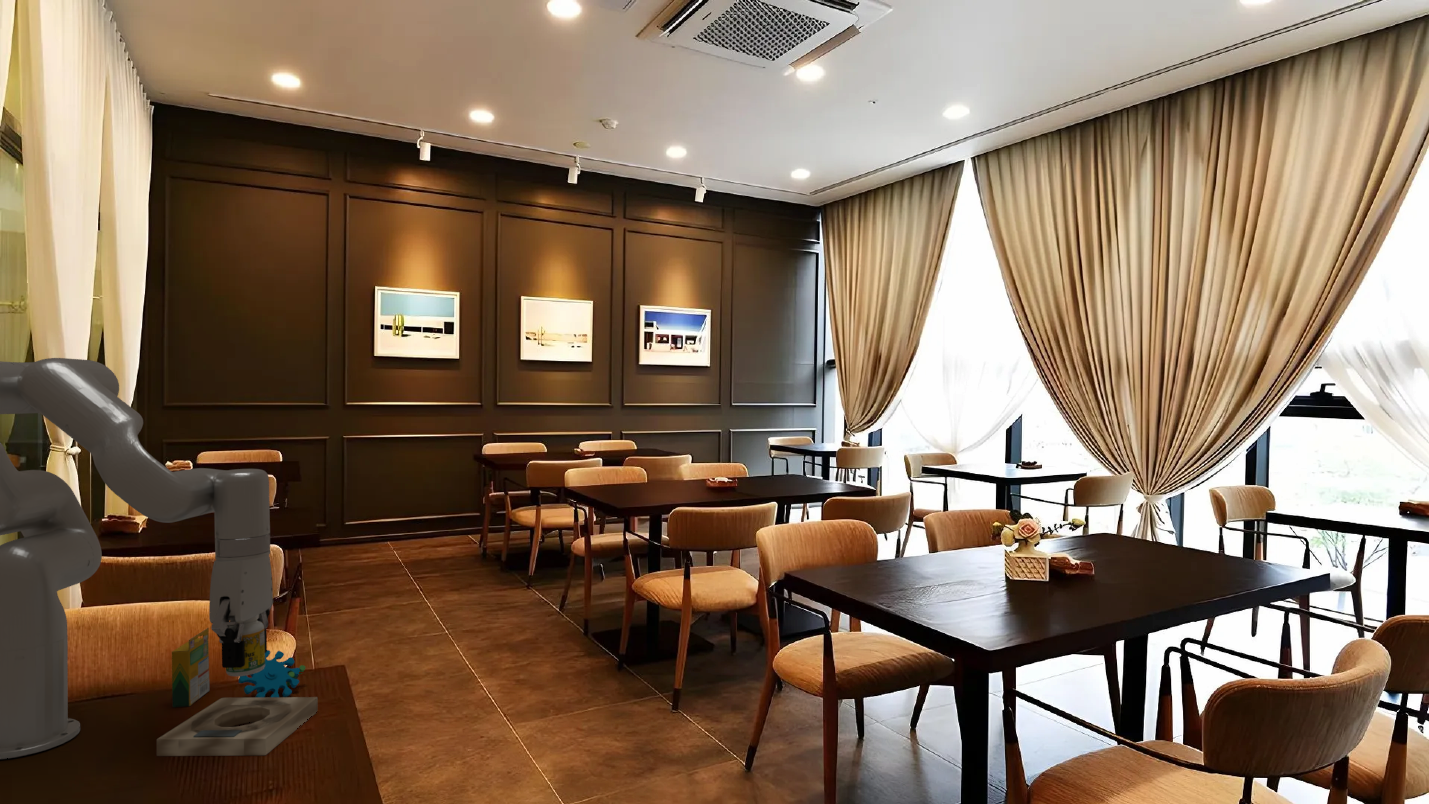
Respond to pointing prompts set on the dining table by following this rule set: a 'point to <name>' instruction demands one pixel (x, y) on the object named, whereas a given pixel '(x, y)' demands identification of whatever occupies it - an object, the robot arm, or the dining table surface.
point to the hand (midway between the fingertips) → (245, 659)
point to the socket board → (238, 727)
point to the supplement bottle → (251, 648)
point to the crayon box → (190, 670)
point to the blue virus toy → (273, 677)
